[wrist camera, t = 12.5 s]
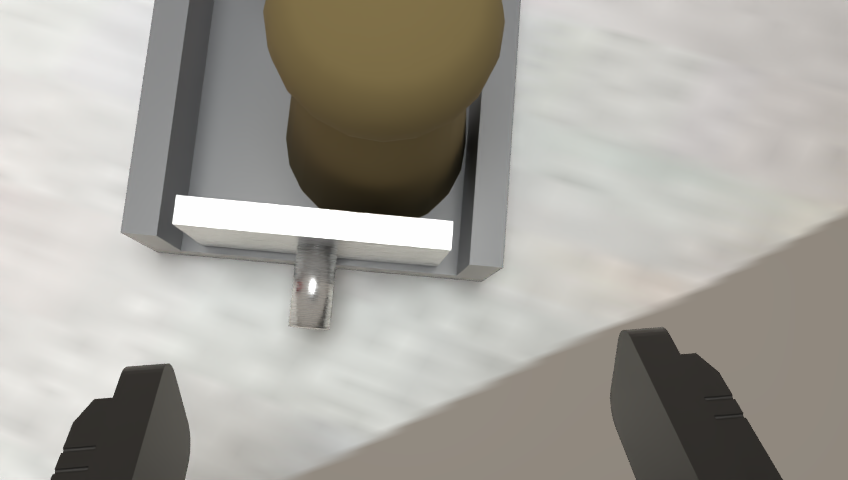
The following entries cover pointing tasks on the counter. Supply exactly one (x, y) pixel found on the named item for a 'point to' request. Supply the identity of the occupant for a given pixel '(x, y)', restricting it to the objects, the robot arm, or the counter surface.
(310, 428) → the counter surface
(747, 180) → the counter surface
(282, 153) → the tray
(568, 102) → the counter surface
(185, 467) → the robot arm
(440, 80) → the cork
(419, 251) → the pusher
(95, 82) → the counter surface
